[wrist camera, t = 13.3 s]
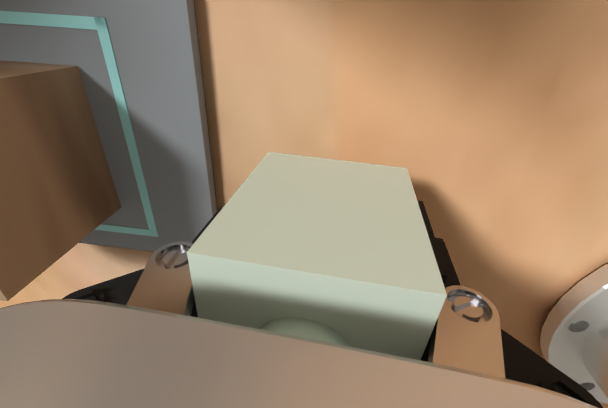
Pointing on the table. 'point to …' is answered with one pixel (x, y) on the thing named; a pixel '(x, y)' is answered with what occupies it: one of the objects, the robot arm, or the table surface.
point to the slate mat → (131, 105)
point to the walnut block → (47, 170)
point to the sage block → (322, 256)
